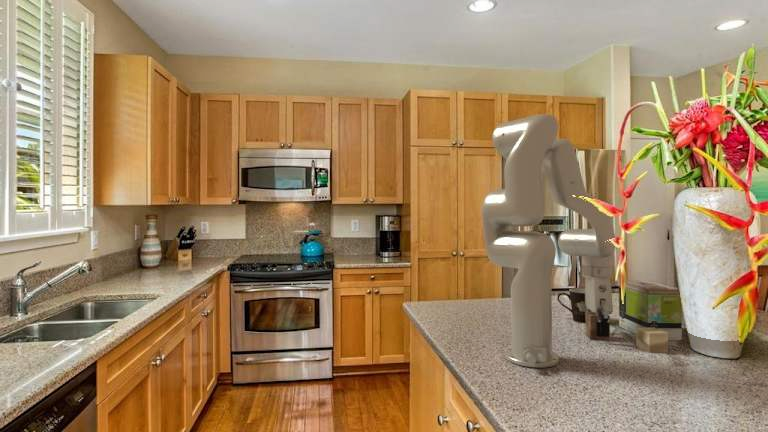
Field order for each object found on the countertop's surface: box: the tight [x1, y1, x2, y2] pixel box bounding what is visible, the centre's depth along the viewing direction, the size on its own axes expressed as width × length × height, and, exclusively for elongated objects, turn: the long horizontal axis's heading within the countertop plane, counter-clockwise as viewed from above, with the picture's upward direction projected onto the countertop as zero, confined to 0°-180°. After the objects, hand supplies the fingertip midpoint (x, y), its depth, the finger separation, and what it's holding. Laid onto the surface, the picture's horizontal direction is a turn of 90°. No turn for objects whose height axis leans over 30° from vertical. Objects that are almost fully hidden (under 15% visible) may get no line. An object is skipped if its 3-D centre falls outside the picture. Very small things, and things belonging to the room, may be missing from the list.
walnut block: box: [585, 311, 611, 342], centre depth 120 cm, size 5×5×7 cm
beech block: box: [635, 327, 669, 353], centre depth 110 cm, size 5×5×5 cm
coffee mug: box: [556, 287, 587, 324], centre depth 139 cm, size 12×9×10 cm
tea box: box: [618, 280, 683, 342], centre depth 123 cm, size 15×10×15 cm, turn 179°
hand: (597, 331), depth 120 cm, fingers open, 9 cm apart
